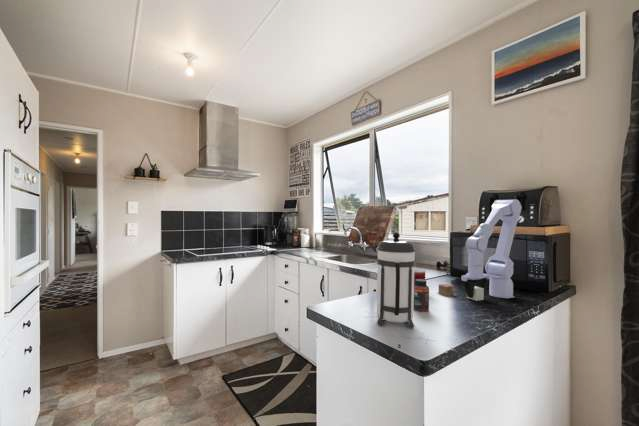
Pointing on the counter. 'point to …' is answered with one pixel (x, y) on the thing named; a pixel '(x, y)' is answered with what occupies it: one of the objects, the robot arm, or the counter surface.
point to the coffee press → (395, 281)
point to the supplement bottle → (421, 295)
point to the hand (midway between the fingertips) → (475, 296)
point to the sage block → (478, 294)
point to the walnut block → (446, 289)
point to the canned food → (419, 274)
